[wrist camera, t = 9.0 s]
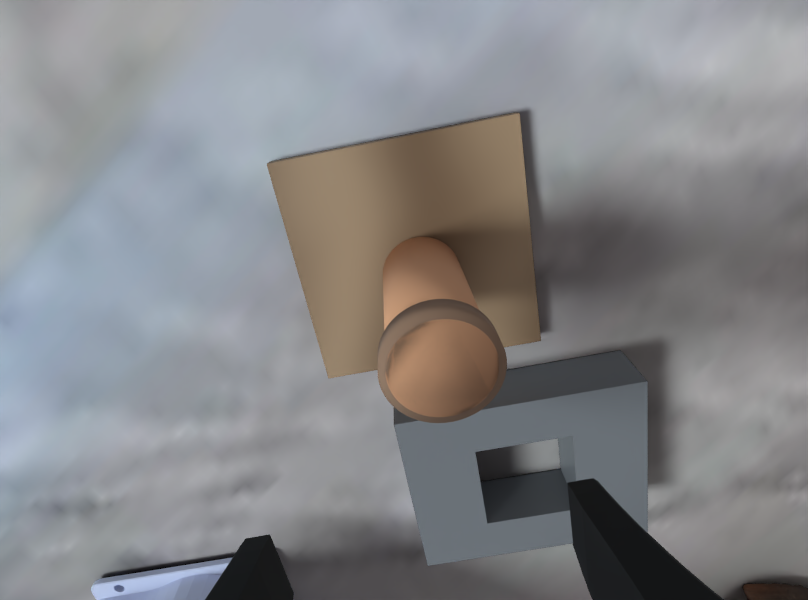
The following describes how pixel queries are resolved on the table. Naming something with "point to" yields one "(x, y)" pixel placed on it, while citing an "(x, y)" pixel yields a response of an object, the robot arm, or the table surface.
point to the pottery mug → (775, 592)
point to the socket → (519, 424)
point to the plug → (435, 337)
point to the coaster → (409, 228)
